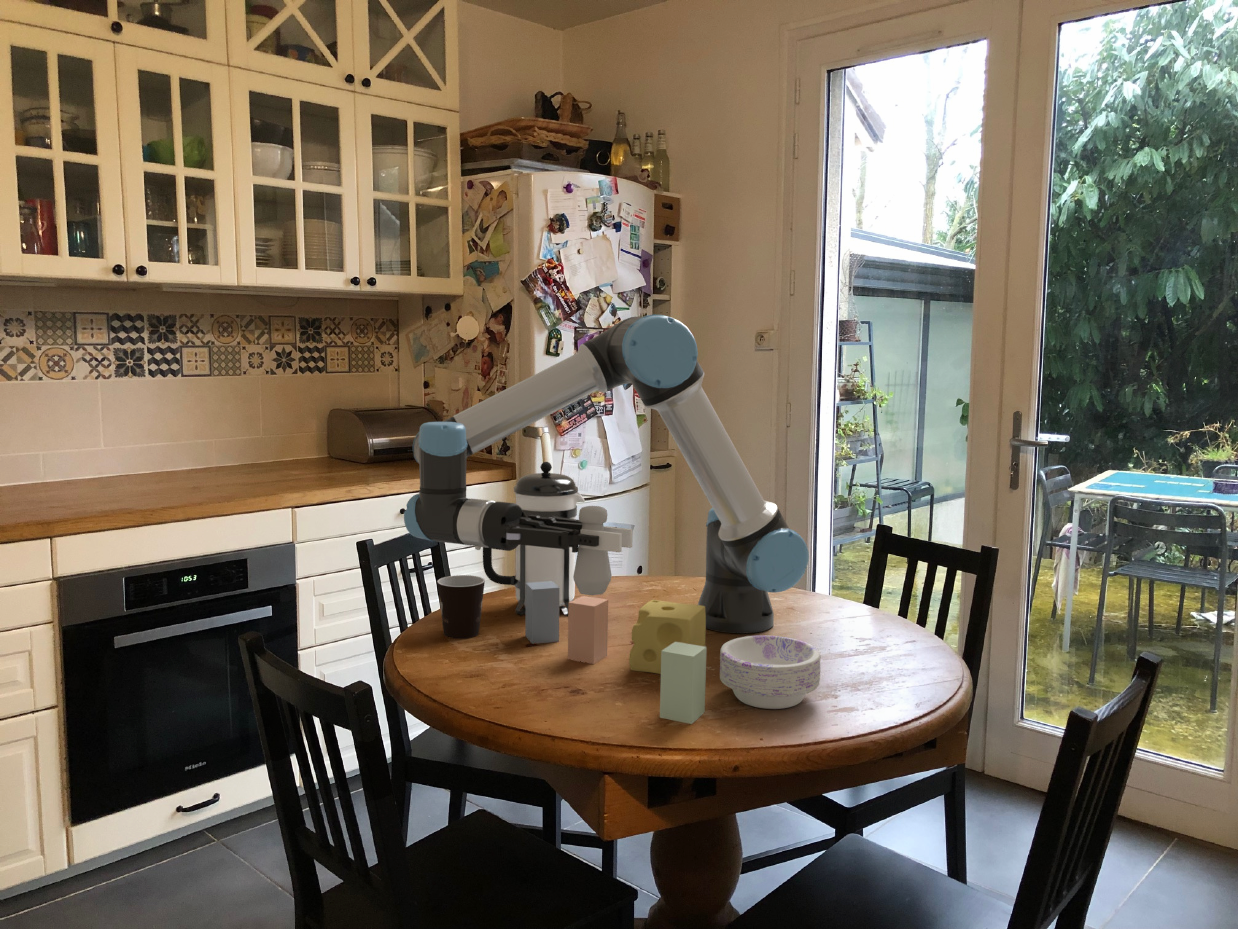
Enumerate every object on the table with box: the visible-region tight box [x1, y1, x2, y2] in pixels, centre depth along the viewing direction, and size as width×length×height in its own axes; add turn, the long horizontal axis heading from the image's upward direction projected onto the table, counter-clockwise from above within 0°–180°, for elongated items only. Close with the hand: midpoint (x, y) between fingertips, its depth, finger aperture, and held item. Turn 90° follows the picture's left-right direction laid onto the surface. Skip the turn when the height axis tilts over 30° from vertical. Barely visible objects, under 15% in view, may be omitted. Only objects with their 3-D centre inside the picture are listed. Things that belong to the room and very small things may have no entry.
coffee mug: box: [436, 574, 486, 640], centre depth 181 cm, size 12×9×10 cm
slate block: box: [524, 581, 560, 645], centre depth 177 cm, size 5×5×10 cm
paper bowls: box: [719, 634, 822, 710], centre depth 149 cm, size 15×15×8 cm
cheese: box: [628, 599, 707, 675], centre depth 164 cm, size 10×11×10 cm
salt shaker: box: [573, 505, 612, 596], centre depth 146 cm, size 6×6×13 cm
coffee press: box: [482, 461, 586, 616], centre depth 195 cm, size 17×16×30 cm
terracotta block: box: [567, 595, 609, 665], centre depth 167 cm, size 5×5×10 cm
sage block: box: [659, 642, 708, 725], centre depth 142 cm, size 5×5×10 cm
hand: (625, 540), depth 143 cm, fingers closed on salt shaker, 3 cm apart
